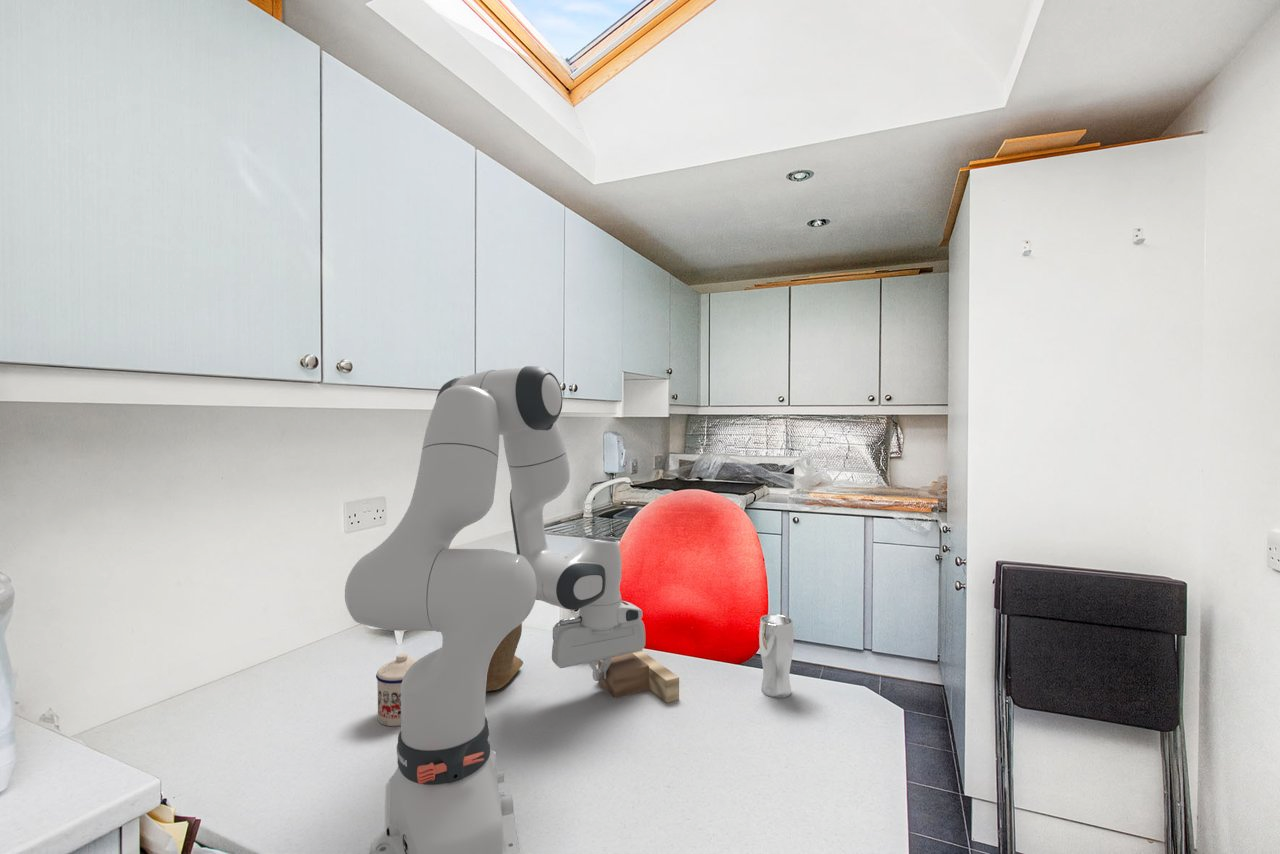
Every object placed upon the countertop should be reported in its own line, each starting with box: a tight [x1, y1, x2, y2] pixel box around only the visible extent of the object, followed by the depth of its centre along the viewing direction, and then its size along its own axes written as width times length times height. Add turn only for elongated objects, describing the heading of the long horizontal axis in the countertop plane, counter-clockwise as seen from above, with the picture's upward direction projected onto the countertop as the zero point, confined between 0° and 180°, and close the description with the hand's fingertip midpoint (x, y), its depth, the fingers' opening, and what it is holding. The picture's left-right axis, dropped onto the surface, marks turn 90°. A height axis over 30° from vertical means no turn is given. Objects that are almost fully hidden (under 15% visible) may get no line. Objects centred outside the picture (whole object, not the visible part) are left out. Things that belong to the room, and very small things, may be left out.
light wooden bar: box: [633, 650, 680, 704], centre depth 126 cm, size 22×3×4 cm, turn 29°
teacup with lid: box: [375, 653, 420, 727], centre depth 111 cm, size 12×9×12 cm
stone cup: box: [486, 622, 524, 692], centre depth 126 cm, size 15×12×15 cm
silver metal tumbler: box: [758, 613, 795, 699], centre depth 120 cm, size 7×7×15 cm
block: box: [597, 653, 650, 699], centre depth 123 cm, size 8×8×5 cm
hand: (599, 679), depth 121 cm, fingers closed
